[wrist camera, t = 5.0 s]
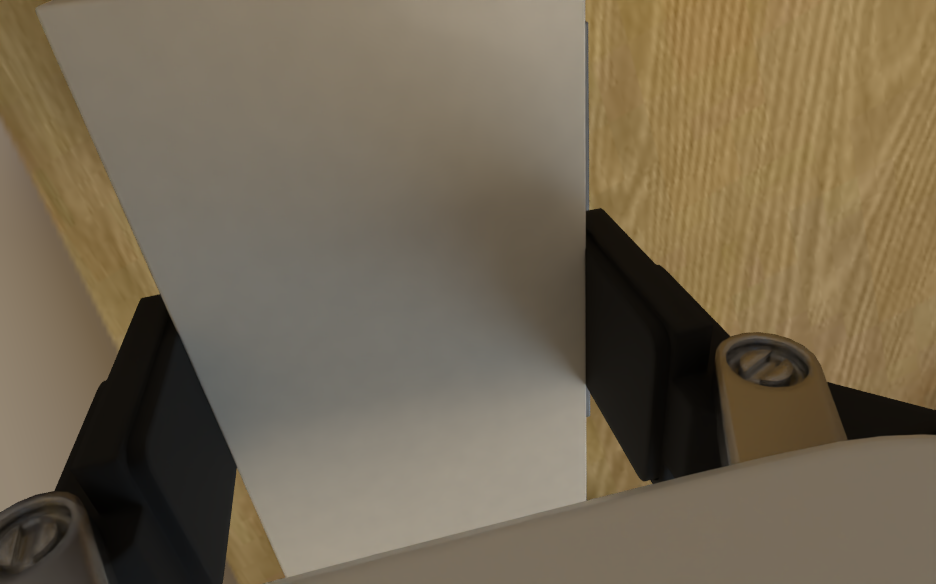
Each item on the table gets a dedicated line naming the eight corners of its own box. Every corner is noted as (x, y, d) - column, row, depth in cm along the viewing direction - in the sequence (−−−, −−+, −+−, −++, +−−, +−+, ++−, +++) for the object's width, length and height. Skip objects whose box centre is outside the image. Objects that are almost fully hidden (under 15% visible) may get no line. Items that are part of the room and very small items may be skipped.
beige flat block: (91, -16, 9) (30, 7, 7) (529, -76, 10) (586, -70, 8) (300, 520, 16) (299, 611, 14) (553, 458, 16) (587, 535, 14)
